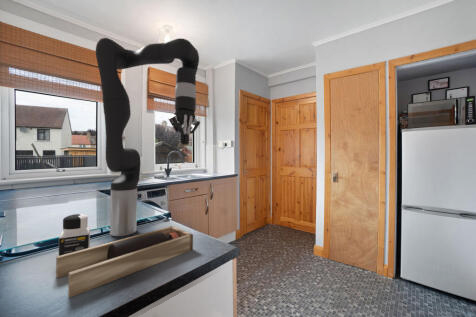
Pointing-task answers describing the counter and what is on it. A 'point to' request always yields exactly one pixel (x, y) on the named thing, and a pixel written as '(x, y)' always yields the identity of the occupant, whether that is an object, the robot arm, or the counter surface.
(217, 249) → the counter surface
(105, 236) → the counter surface
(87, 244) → the medicine bottle
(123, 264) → the u rest
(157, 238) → the vinegar
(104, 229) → the counter surface
